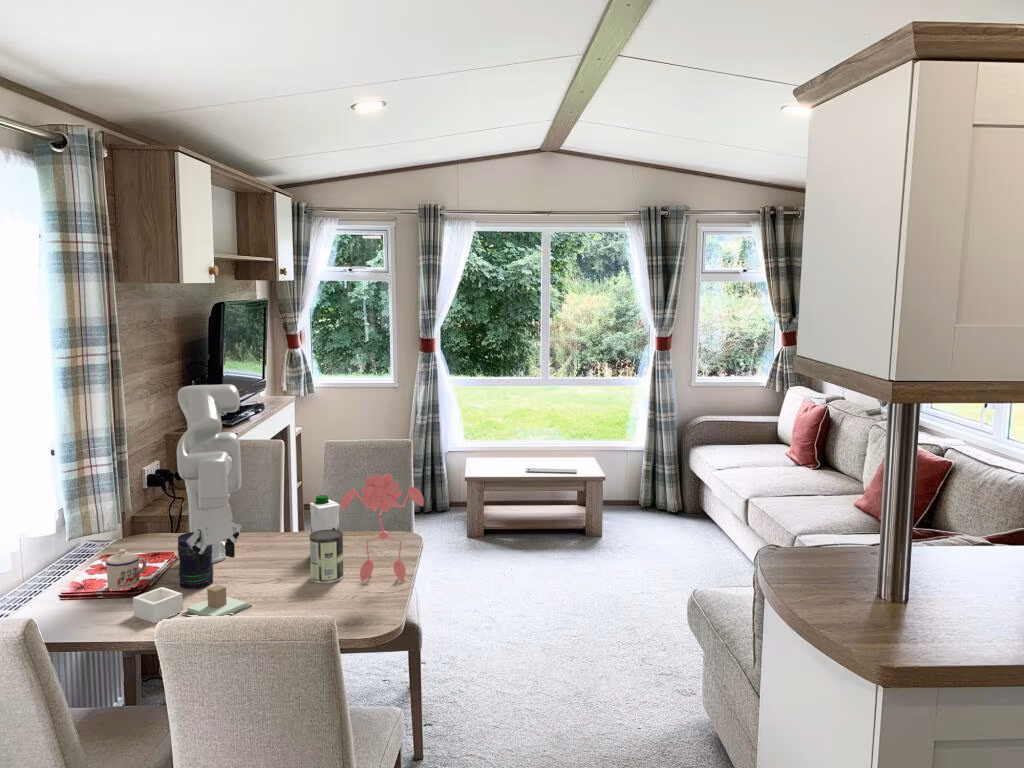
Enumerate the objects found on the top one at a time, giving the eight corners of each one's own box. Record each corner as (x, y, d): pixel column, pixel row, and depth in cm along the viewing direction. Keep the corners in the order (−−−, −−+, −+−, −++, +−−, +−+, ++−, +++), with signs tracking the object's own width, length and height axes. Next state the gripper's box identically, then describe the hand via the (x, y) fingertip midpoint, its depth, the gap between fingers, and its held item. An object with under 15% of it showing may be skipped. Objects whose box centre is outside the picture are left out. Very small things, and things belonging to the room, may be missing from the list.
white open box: (162, 605, 222) (162, 586, 221) (183, 612, 217) (182, 593, 217) (133, 616, 214) (132, 597, 213) (154, 623, 210) (153, 604, 209)
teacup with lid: (118, 595, 228) (116, 557, 227) (100, 588, 233) (98, 551, 231) (155, 582, 238) (153, 545, 237) (137, 576, 243) (135, 540, 242)
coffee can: (331, 569, 251) (330, 527, 250) (350, 577, 244) (349, 534, 243) (303, 577, 244) (302, 534, 242) (322, 586, 237) (321, 541, 235)
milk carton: (331, 548, 271) (330, 493, 268) (343, 556, 264) (342, 498, 261) (308, 554, 265) (306, 497, 263) (319, 561, 258) (318, 503, 256)
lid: (220, 598, 226) (219, 578, 225) (246, 606, 220) (245, 585, 219) (187, 611, 216) (186, 590, 215) (214, 620, 211) (213, 598, 210)
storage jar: (175, 582, 239) (173, 535, 237) (208, 575, 245) (206, 529, 243) (184, 592, 231) (182, 543, 229) (218, 585, 237) (216, 537, 235)
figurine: (344, 574, 247) (342, 467, 242) (425, 575, 247) (425, 468, 242) (334, 594, 232) (332, 480, 226) (420, 595, 232) (420, 481, 227)
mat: (223, 597, 227) (223, 596, 227) (251, 606, 221) (251, 605, 221) (182, 614, 215) (181, 613, 215) (210, 624, 209) (210, 622, 209)
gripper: (230, 493, 224) (232, 550, 226) (177, 506, 209) (180, 568, 211) (248, 496, 220) (249, 555, 222) (195, 511, 205) (198, 573, 207)
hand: (215, 561), depth 216 cm, fingers open, 9 cm apart
